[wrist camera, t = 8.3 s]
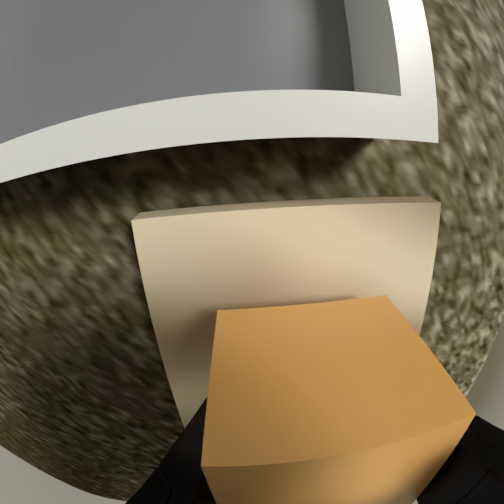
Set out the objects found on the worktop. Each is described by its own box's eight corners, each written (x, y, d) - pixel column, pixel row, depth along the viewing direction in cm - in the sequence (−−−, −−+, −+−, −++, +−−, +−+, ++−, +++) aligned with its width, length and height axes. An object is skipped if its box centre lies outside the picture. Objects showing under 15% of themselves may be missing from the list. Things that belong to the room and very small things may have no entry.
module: (363, 406, 10) (403, 512, 6) (234, 421, 10) (234, 541, 6) (386, 295, 9) (476, 413, 4) (217, 310, 9) (200, 466, 4)
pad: (389, 397, 13) (396, 411, 13) (188, 418, 13) (186, 434, 12) (426, 196, 10) (440, 202, 9) (140, 212, 10) (131, 220, 9)
